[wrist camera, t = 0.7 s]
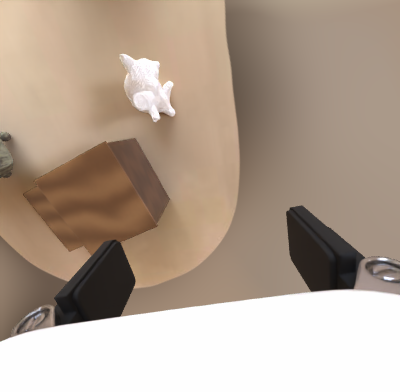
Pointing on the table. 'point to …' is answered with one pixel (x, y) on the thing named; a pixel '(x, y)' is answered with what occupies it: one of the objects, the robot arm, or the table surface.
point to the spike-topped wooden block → (5, 157)
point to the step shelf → (100, 196)
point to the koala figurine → (146, 87)
